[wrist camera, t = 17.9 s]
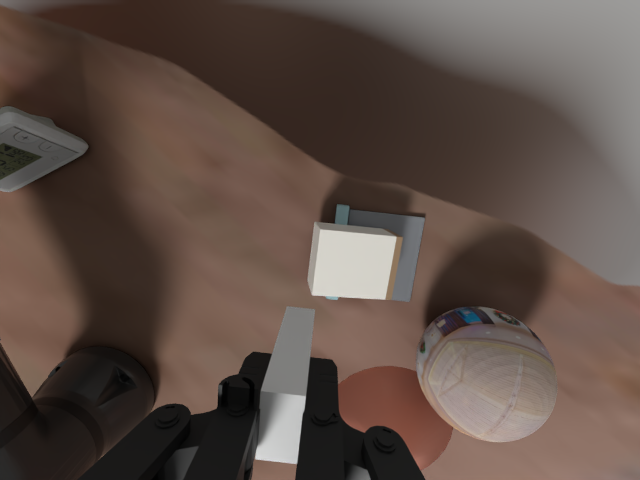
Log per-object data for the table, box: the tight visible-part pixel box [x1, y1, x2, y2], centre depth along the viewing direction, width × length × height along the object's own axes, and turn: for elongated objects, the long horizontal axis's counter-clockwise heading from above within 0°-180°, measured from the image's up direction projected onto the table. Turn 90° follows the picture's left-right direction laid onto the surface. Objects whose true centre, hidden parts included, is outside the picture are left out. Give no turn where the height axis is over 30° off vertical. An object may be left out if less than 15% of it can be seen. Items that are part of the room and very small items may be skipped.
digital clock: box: [0, 106, 88, 192], centre depth 37 cm, size 14×8×9 cm, turn 103°
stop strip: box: [326, 204, 349, 300], centre depth 42 cm, size 2×13×2 cm, turn 174°
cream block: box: [307, 222, 403, 300], centre depth 39 cm, size 5×8×10 cm
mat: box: [348, 209, 425, 302], centre depth 43 cm, size 10×12×1 cm
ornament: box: [416, 306, 557, 442], centre depth 38 cm, size 15×15×15 cm
